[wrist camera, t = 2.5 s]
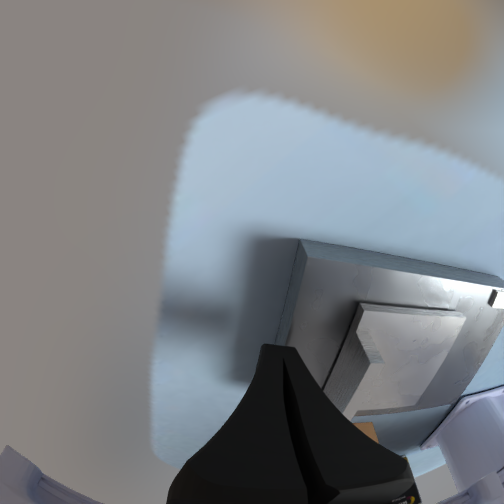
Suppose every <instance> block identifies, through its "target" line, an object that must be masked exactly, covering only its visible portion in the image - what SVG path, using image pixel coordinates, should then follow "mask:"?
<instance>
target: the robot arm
mask: <svg viewBox="0 0 504 504" xmlns="http://www.w3.org/2000/svg"><path fill="white" fill-rule="evenodd" d="M435 446H439V447H440V449H441V451H442V454H443V456H444V458H445V461H446V463H447V465H448V468H449V470H450V473H451V475H452V477H453V480H454V482H455V485H456V488H457V490H458V494H456V495H454V496H452V497H449V498H447V499H445V500H443V501H441V502H438V503H436V504H504V386H502V387H499V388H496V389H493V390H489V391H486V392H482V393H478V394H474V395H470V396H466V397H463V398H462V399H461V400H460V401H459V402H458V404H457V405H456V406H455V408H454V409H453V410H452V411H451V413H450V414H449V415H448V416H447V417H446V419H445V420H444V421H443V422H442V423H441V425H440V426H439V427H438V428H437V429H436V430H435V431H434V432H433V434H432V435H431V436H430V437H429V438H428V439H427V440H426V441H425V442H424V443H423V444H422V445H421V446H420V449H421V450H425V449H428V448H432V447H435ZM413 483H414V478H413V474H412V471H411V468H410V466H409V463H408V461H407V460H406V459H405V458H403V457H401V456H399V455H397V454H395V453H393V452H391V451H390V450H388V449H386V448H384V447H383V446H381V445H380V444H378V443H377V442H375V441H374V440H372V439H371V438H370V437H368V436H367V435H366V434H364V433H363V432H362V431H361V430H360V429H358V428H357V427H356V426H355V425H354V424H352V423H351V422H350V421H349V420H348V419H347V418H346V417H345V416H344V415H343V414H342V413H341V412H340V411H339V410H338V409H337V408H336V406H335V405H334V404H333V403H332V402H331V401H330V399H329V398H328V397H327V396H326V394H325V393H324V392H323V390H322V389H321V388H320V386H319V385H318V383H317V382H316V380H315V379H314V377H313V376H312V374H311V373H310V371H309V370H308V368H307V366H306V365H305V363H304V361H303V360H302V358H301V356H300V355H299V353H298V351H297V349H296V348H295V347H290V346H280V345H272V344H263V345H262V346H261V350H260V355H259V359H258V363H257V367H256V372H255V375H254V377H253V380H252V382H251V384H250V386H249V387H248V389H247V391H246V393H245V395H244V397H243V398H242V400H241V401H240V403H239V405H238V406H237V408H236V409H235V410H234V412H233V413H232V415H231V416H230V417H229V419H228V420H227V421H226V422H225V424H224V425H223V426H222V427H221V428H220V430H219V431H218V432H217V433H216V434H215V435H214V436H213V437H212V438H211V439H210V440H209V441H208V442H207V443H206V444H205V445H204V446H203V447H202V448H201V449H200V450H199V451H198V452H196V453H195V454H194V455H193V456H192V457H191V458H190V459H188V460H187V461H186V463H185V465H184V466H183V467H182V469H181V470H180V472H179V473H178V474H177V476H176V477H175V479H174V480H173V482H172V484H171V486H170V488H169V492H168V497H167V503H166V504H393V502H392V501H393V500H394V499H396V498H397V497H399V496H400V495H401V494H403V493H404V492H406V491H407V490H408V489H409V488H411V486H412V485H413ZM0 504H103V503H100V502H98V501H95V500H93V499H91V498H89V497H87V496H85V495H82V494H80V493H78V492H76V491H74V490H72V489H70V488H68V487H66V486H64V485H63V484H61V483H59V482H57V481H55V480H54V479H52V478H50V477H48V476H47V475H45V474H43V473H42V472H41V470H40V469H39V468H38V467H37V466H36V465H35V464H33V463H32V462H31V461H29V460H28V459H27V458H25V457H24V456H22V455H21V454H19V453H18V452H17V451H15V450H14V449H12V448H11V447H10V446H8V445H7V446H6V447H5V448H4V450H3V452H2V453H1V455H0Z"/></svg>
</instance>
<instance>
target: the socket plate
mask: <svg viewBox="0 0 504 504" xmlns="http://www.w3.org/2000/svg"><path fill="white" fill-rule="evenodd" d="M359 303H366V304H376V305H385V306H395V307H406V308H417V309H429V310H442V311H455V312H461V313H462V314H463V315H464V316H465V317H466V320H465V322H464V324H463V326H462V328H461V330H460V332H459V334H458V336H457V338H456V340H455V341H454V343H453V345H452V347H451V349H450V351H449V352H448V354H447V356H446V358H445V359H444V361H443V363H442V364H441V366H440V368H439V369H438V371H437V373H436V374H435V376H434V377H433V379H432V380H431V382H430V383H429V385H428V386H427V388H426V389H425V391H424V392H423V394H422V395H421V397H420V398H419V399H418V401H417V402H416V404H415V405H413V406H405V407H396V408H386V409H374V410H357V412H356V413H355V415H354V416H366V415H379V414H390V413H398V412H406V411H413V410H420V409H426V408H432V407H437V406H442V405H447V404H452V403H455V402H456V401H457V400H458V398H459V397H460V396H461V394H462V393H463V392H464V390H465V389H466V387H467V386H468V385H469V383H470V382H471V380H472V379H473V377H474V376H475V374H476V373H477V371H478V369H479V368H480V366H481V365H482V363H483V361H484V360H485V358H486V356H487V355H488V353H489V351H490V349H491V348H492V346H493V344H494V342H495V340H496V339H497V337H498V335H499V333H500V331H501V329H502V327H503V325H504V280H502V279H501V278H499V277H497V276H493V275H488V274H483V273H479V272H474V271H469V270H465V269H460V268H455V267H450V266H445V265H440V264H435V263H430V262H425V261H420V260H415V259H410V258H404V257H399V256H394V255H389V254H383V253H378V252H373V251H367V250H362V249H356V248H350V247H345V246H339V245H334V244H328V243H322V242H316V241H310V240H304V239H300V240H299V245H298V249H297V254H296V259H295V263H294V267H293V272H292V276H291V281H290V285H289V289H288V293H287V298H286V302H285V306H284V310H283V314H282V318H281V322H280V326H279V330H278V334H277V338H276V342H275V345H280V346H290V347H295V348H296V349H297V351H298V353H299V355H300V356H301V358H302V360H303V361H304V363H305V365H306V366H307V368H308V370H309V371H310V373H311V374H312V376H313V377H314V379H315V380H316V382H317V383H318V385H319V386H320V388H321V389H322V390H324V388H325V386H326V384H327V382H328V379H329V377H330V375H331V373H332V371H333V368H334V366H335V364H336V362H337V359H338V357H339V355H340V352H341V350H342V348H343V345H344V343H345V340H346V338H347V335H348V333H349V330H350V328H351V325H352V322H353V320H354V317H355V314H356V312H357V309H358V306H359Z"/></svg>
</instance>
